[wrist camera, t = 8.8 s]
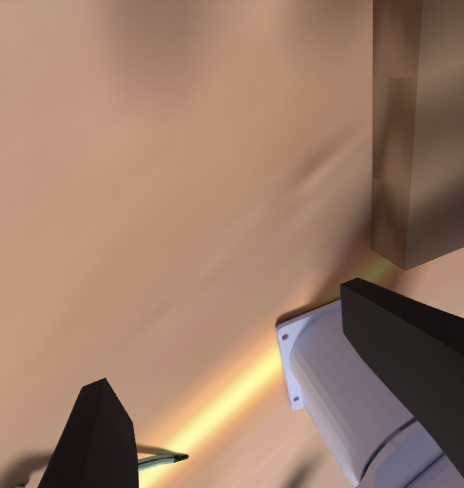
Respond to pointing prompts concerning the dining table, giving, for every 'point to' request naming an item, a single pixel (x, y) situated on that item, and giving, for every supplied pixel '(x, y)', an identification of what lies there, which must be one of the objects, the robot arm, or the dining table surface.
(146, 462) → the sunglasses
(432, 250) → the socket block
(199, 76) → the dining table surface
